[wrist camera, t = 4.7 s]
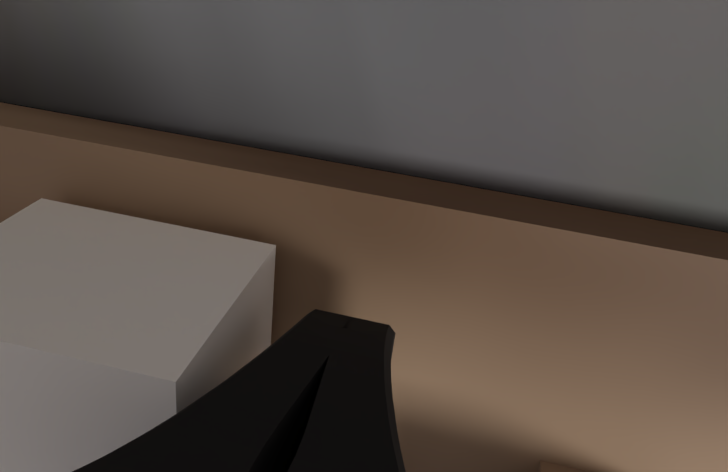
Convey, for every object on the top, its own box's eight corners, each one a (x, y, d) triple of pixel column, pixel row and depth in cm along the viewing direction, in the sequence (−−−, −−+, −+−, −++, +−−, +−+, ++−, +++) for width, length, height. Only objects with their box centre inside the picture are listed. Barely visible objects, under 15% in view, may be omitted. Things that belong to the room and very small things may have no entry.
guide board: (700, 704, 15) (765, 996, 11) (-293, 432, 18) (-517, 576, 14) (955, 274, 10) (1255, 526, 6) (-482, 15, 13) (-908, 62, 9)
